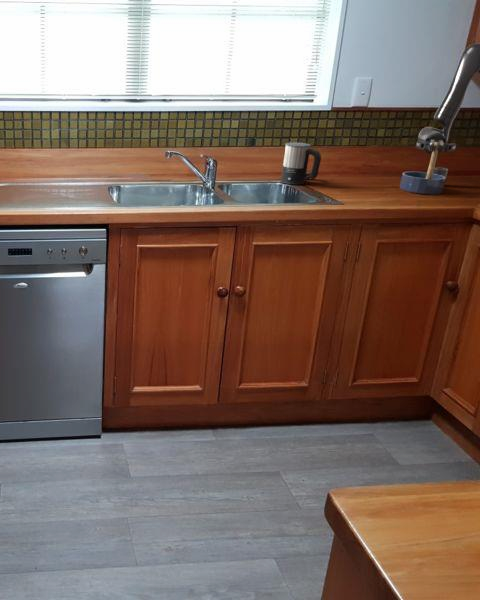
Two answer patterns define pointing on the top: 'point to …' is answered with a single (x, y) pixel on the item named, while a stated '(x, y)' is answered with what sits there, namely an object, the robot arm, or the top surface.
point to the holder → (441, 171)
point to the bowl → (422, 183)
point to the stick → (433, 160)
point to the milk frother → (299, 163)
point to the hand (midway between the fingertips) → (436, 148)
